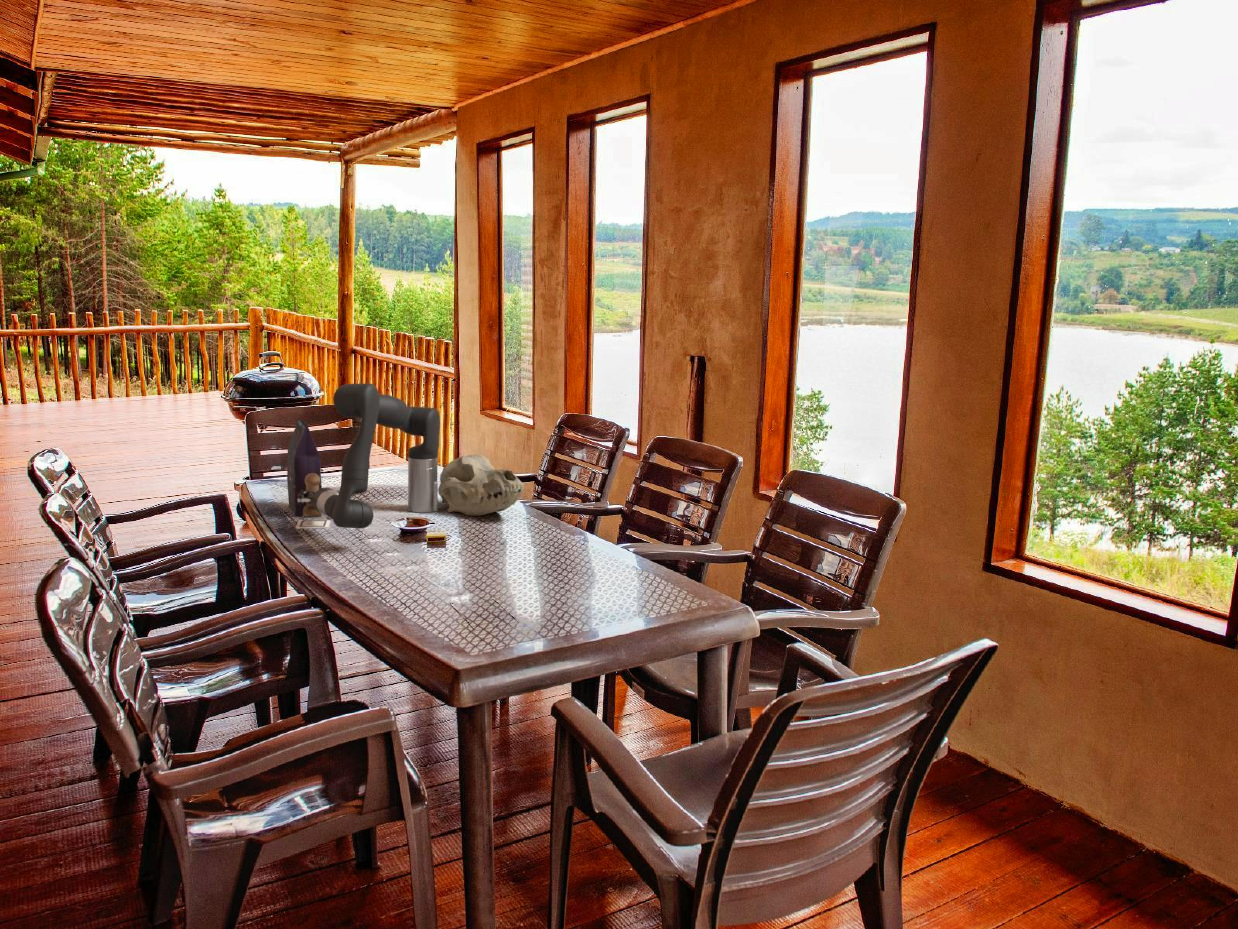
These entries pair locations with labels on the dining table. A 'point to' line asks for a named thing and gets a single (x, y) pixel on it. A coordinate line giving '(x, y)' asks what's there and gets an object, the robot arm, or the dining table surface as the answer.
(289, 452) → the purple printed bag
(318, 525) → the sheet
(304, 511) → the stamp
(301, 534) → the dining table surface
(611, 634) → the dining table surface
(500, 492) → the animal skull
